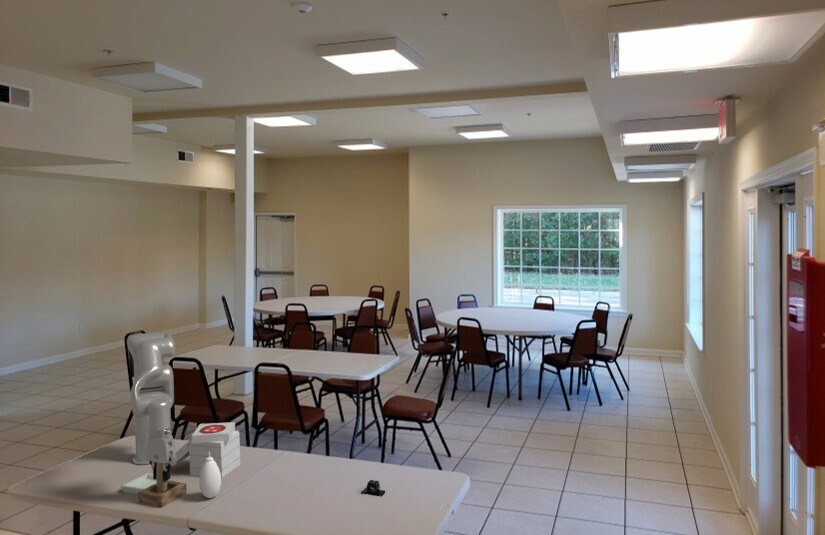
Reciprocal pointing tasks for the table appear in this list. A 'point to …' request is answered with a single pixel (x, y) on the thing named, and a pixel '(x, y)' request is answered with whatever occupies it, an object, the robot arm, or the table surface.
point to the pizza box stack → (212, 448)
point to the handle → (160, 476)
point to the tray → (138, 484)
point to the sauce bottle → (210, 478)
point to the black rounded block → (371, 491)
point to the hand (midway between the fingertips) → (161, 478)
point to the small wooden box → (160, 500)
